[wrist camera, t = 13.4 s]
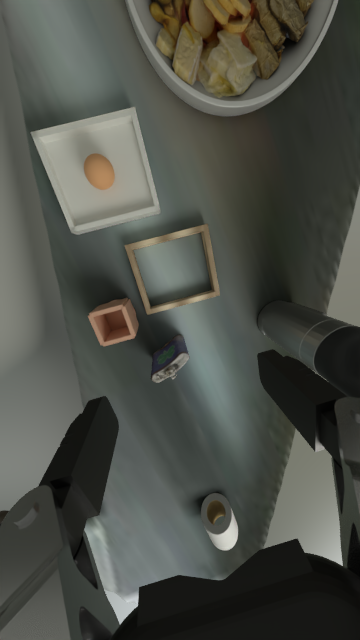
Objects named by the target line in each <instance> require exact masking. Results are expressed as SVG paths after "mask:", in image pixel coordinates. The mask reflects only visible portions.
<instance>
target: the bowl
mask: <svg viewBox="0 0 360 640" xmlns="http://www.w3.org/2000/svg"><path fill="white" fill-rule="evenodd" d="M125 3H126V7H127V10H128V13H129V16H130V19H131V22H132V25H133V28H134V30H135V33H136V35H137V38H138V40H139V42H140V44H141V47H142V49H143V51H144V53H145V55H146V56H147V58H148V60H149V62H150V63H151V65H152V67H153V68H154V70H155V71H156V73H157V74H158V75H159V77H160V78H161V79H162V81H163V82H164V83H165V84H166V85H167V86H168V88H169V89H170V90H171V91H172V92H173V93H174V94H175V95H177V96H178V97H179V98H180V99H181V100H183V101H184V102H185V103H187V104H188V105H190V106H192V107H194V108H195V109H197V110H200V111H202V112H205V113H208V114H211V115H216V116H238V115H243V114H247V113H250V112H253V111H255V110H257V109H259V108H261V107H263V106H265V105H266V104H268V103H270V102H271V101H272V100H274V99H275V98H276V97H278V96H279V95H280V94H281V93H282V92H284V91H285V90H286V89H287V88H288V87H289V86H290V85H291V84H292V83H293V81H294V80H295V79H296V78H297V77H298V76H299V74H300V73H301V72H302V71H303V69H304V68H305V67H306V65H307V64H308V63H309V61H310V60H311V58H312V57H313V55H314V54H315V52H316V50H317V49H318V47H319V45H320V44H321V42H322V40H323V38H324V36H325V34H326V32H327V29H328V27H329V25H330V22H331V20H332V18H333V15H334V12H335V9H336V6H337V3H338V0H125Z"/></svg>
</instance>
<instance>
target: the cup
mask: <svg viewBox="0 0 360 640" xmlns="http://www.w3.org/2000/svg"><path fill="white" fill-rule="evenodd" d="M89 314H90V315H89V316H88V318H89V320H90V322H91V324H92V327H93V329H94V331H95V333H96V335H97V338H98V340H99V342H100V344H101V345H103V346H107V345H111V344H115V343H118V342H122V341H126V340H129V339H133V338H135V336H136V333H137V330H138V326H139V324H138V321H137V318H136V311H135V309H134V307H133V306H132V304H131V301H130V299H128V298H124V299H116V300H112V301H110V302H109V303H105V304H102V305H99V306H98V307H96V308H95V309H94V310H93V311H92V312H90V313H89ZM111 329H112V330H111Z"/></svg>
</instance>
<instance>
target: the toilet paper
mask: <svg viewBox="0 0 360 640" xmlns="http://www.w3.org/2000/svg"><path fill="white" fill-rule="evenodd" d="M219 516H225V519H224V521H223V523H222V524H220V525H218V526H216V525H214V523H215V521H216V519H217V518H218V517H219ZM201 518H202V522H203V524H204V526H205V528H206V530H207V532H208V534H209V536H210V538H211V540H212V542H213V544H214V545H215V546H216V547H217V548H219V549H220V550H229V549H231V548H232V547H233V546H234V545H235V543H236V541H237V537H238V526H237V522H236V520H235V517H234V514H233V512H232V509H231V507H230V504H229V502H228V500H227V499H226V498H225V497H224V496H223V495H221V494H219V493H213V494H210V495H208V496H207V497H206V498H205V500H204V501H203V504H202V507H201Z"/></svg>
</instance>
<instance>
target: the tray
mask: <svg viewBox="0 0 360 640" xmlns="http://www.w3.org/2000/svg"><path fill="white" fill-rule="evenodd" d="M30 133H31V135H32V137H33V140H34V142H35V145H36V147H37V150H38V152H39V155H40V157H41V159H42V162H43V164H44V167H45V169H46V172H47V174H48V176H49V179H50V181H51V184H52V186H53V189H54V191H55V194H56V196H57V198H58V201H59V203H60V206H61V208H62V211H63V213H64V215H65V218H66V220H67V223H68V225H69V228H70V230H71V233H74V234H77V235H79V234H83V233H86V232H90V231H94V230H98V229H102V228H106V227H110V226H114V225H117V224H121V223H125V222H129V221H133V220H137V219H141V218H144V217H148V216H152V215H156V214H160V206H159V202H158V198H157V194H156V190H155V186H154V182H153V178H152V174H151V170H150V166H149V162H148V158H147V154H146V150H145V146H144V142H143V138H142V134H141V130H140V126H139V122H138V118H137V114H136V110H135V107H132V108H128V109H124V110H120V111H116V112H112V113H107V114H103V115H99V116H95V117H91V118H87V119H83V120H79V121H75V122H70V123H66V124H62V125H58V126H54V127H50V128H46V129H42V130H38V131H33V132H30ZM94 153H97V154H101V155H103V156H104V157H106V158H107V159H108V160H109V161H110V163H111V164H112V166H113V169H114V173H115V179H114V182H113V184H112V186H111V187H110V188H108V189H105V190H100V189H97V188H95V187H94V186H93V185H91V184H90V182H89V181H88V180H87V178H86V176H85V173H84V162H85V159H86V158H87V157H88V156H89V155H90V154H94Z"/></svg>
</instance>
